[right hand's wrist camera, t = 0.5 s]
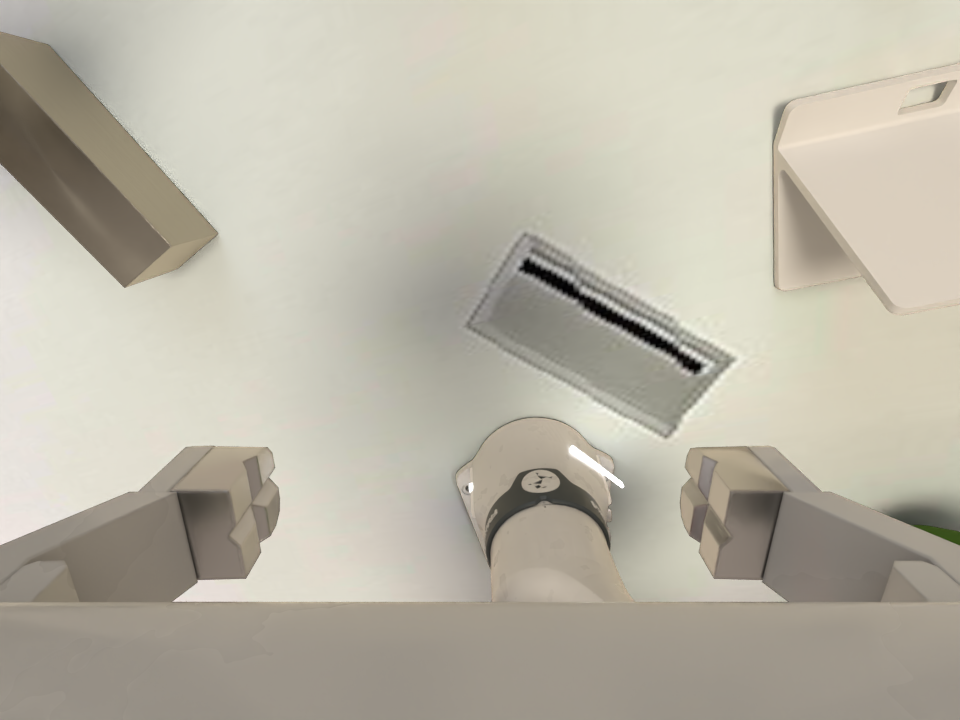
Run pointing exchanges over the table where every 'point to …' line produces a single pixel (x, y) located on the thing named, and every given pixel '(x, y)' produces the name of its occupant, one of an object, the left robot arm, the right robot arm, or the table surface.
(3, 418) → the table surface
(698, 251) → the table surface
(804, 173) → the tablet stand
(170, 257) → the box
